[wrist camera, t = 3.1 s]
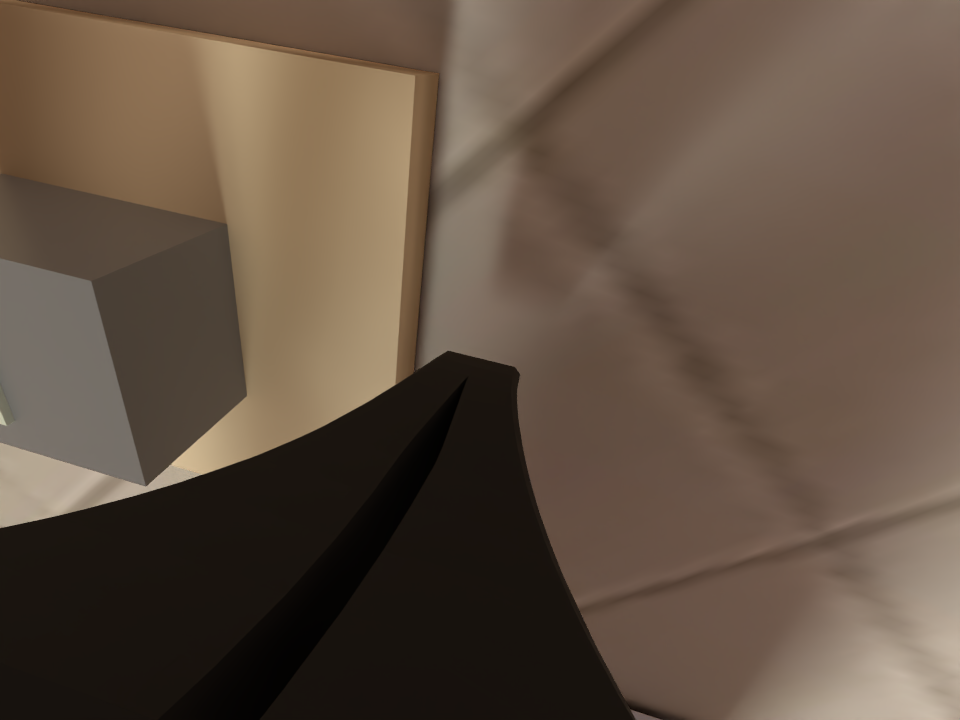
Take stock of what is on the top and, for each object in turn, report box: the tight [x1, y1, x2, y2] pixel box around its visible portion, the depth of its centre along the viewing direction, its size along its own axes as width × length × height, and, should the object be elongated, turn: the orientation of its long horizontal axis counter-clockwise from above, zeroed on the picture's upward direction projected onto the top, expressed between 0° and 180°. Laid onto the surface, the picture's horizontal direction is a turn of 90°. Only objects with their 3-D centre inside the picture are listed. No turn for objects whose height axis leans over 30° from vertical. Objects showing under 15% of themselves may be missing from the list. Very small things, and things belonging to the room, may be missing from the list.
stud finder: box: [0, 174, 247, 486], centre depth 10 cm, size 5×4×3 cm
